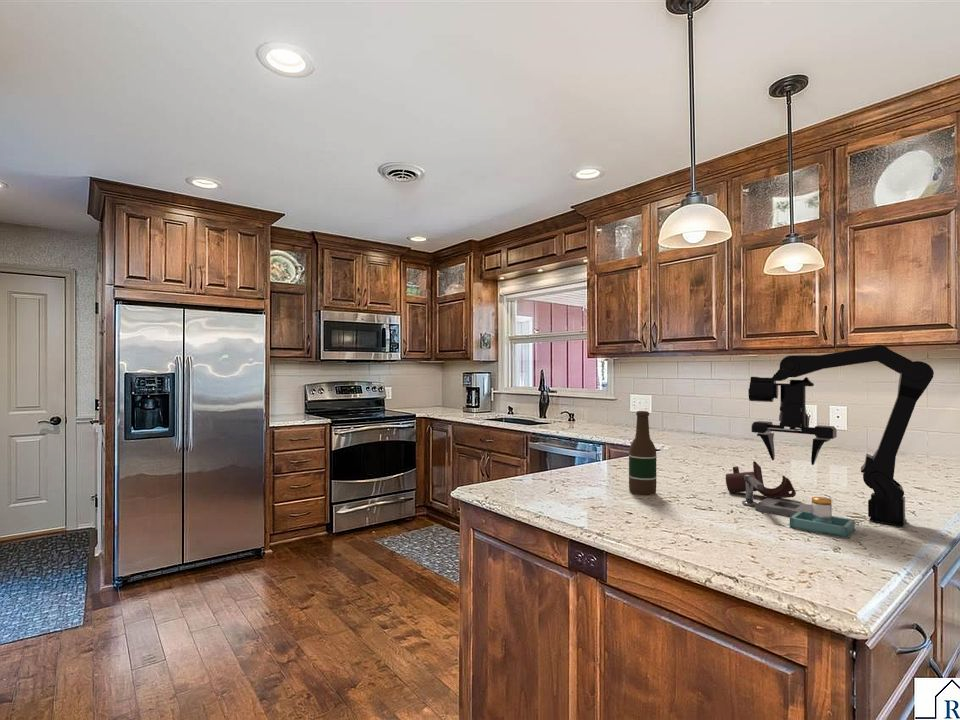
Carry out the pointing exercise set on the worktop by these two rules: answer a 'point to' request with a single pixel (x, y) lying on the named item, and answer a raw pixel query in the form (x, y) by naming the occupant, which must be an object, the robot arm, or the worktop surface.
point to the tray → (823, 525)
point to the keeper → (753, 481)
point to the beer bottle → (642, 459)
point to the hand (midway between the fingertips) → (792, 462)
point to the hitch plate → (774, 504)
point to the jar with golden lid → (822, 510)
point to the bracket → (738, 483)
